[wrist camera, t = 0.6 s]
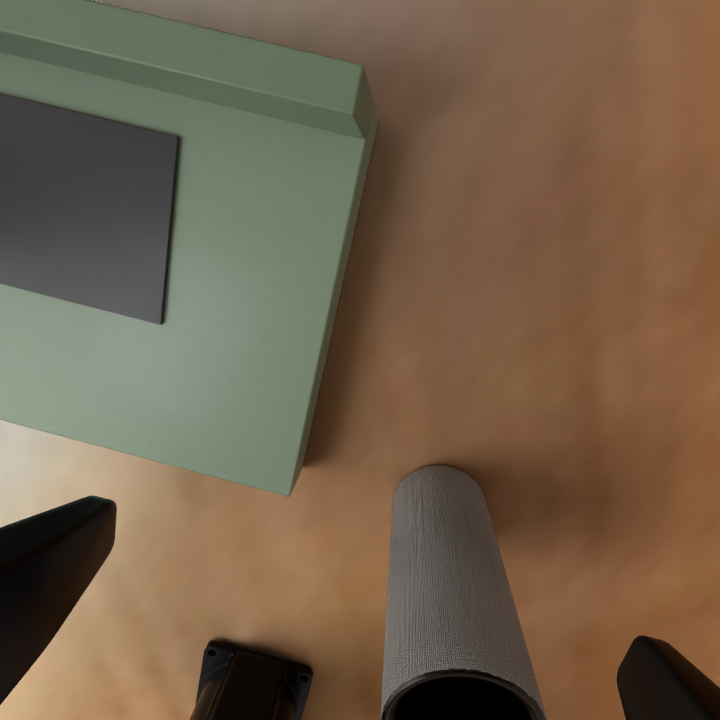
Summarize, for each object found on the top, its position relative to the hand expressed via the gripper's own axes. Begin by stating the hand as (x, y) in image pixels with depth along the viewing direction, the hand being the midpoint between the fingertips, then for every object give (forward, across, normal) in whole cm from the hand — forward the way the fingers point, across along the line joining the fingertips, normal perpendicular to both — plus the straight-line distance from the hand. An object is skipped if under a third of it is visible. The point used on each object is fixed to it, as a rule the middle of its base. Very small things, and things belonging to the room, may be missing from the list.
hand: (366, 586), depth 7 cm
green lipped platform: (+13, +11, -2) cm, 17 cm away
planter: (+13, -4, +6) cm, 15 cm away
